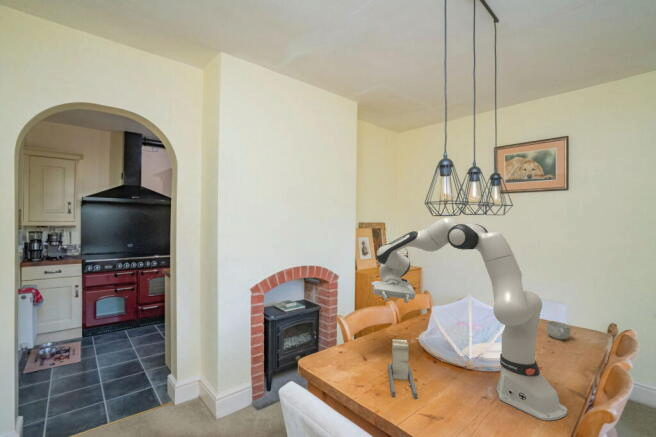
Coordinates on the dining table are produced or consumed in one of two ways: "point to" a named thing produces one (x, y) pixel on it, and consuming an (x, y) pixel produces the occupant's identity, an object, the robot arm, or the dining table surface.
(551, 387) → the robot arm
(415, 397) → the chute
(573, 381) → the dining table surface
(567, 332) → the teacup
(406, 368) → the cream block
